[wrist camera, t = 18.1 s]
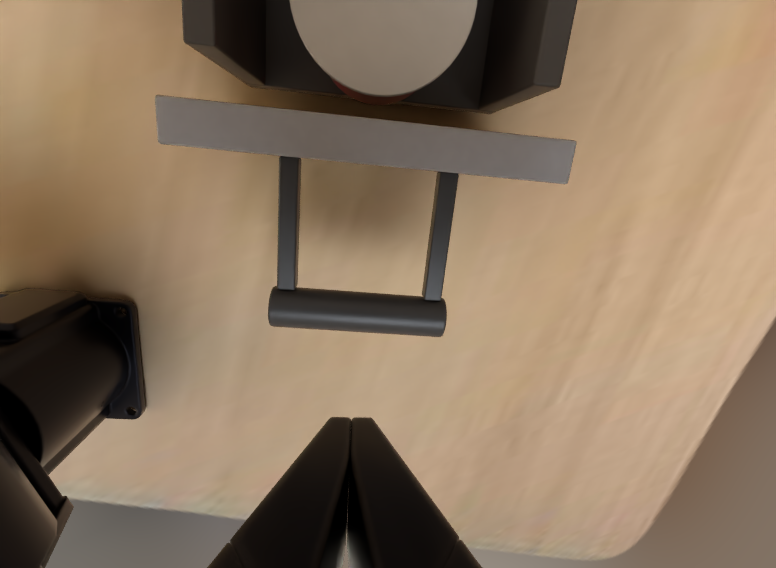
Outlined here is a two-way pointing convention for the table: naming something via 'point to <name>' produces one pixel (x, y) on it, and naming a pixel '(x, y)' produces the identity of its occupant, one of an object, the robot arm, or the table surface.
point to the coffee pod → (383, 42)
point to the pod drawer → (374, 135)
